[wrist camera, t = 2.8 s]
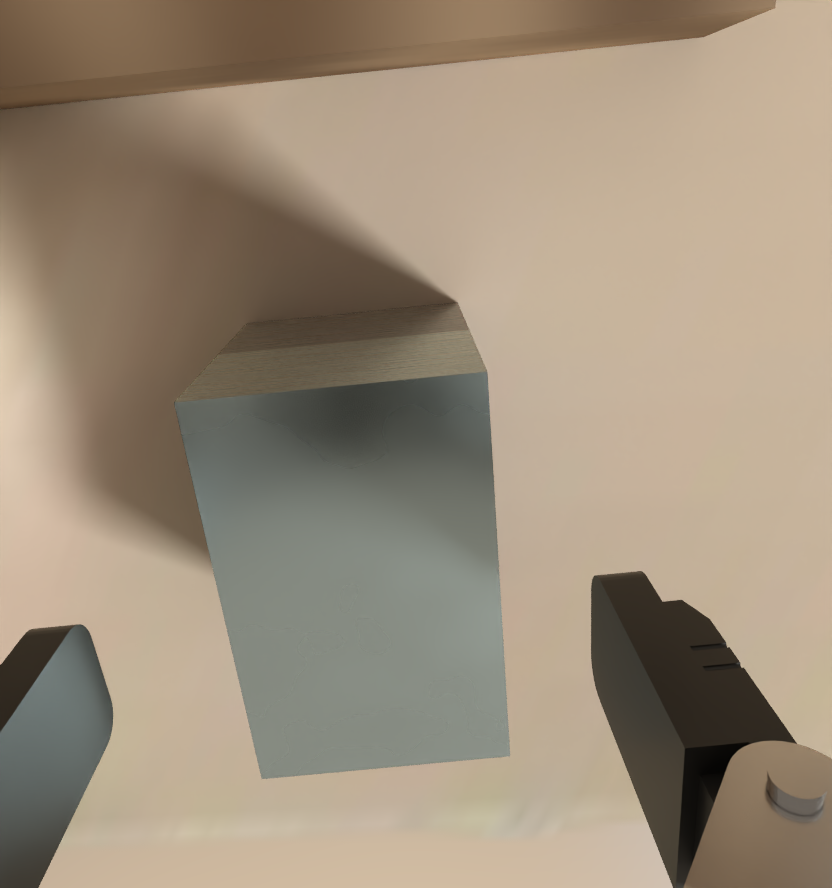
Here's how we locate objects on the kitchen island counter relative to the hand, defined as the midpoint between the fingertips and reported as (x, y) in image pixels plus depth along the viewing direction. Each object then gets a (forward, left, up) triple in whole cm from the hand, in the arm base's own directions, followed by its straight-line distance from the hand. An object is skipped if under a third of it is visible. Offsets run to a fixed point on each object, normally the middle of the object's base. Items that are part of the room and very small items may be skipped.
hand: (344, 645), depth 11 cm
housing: (0, 0, -8) cm, 8 cm away
